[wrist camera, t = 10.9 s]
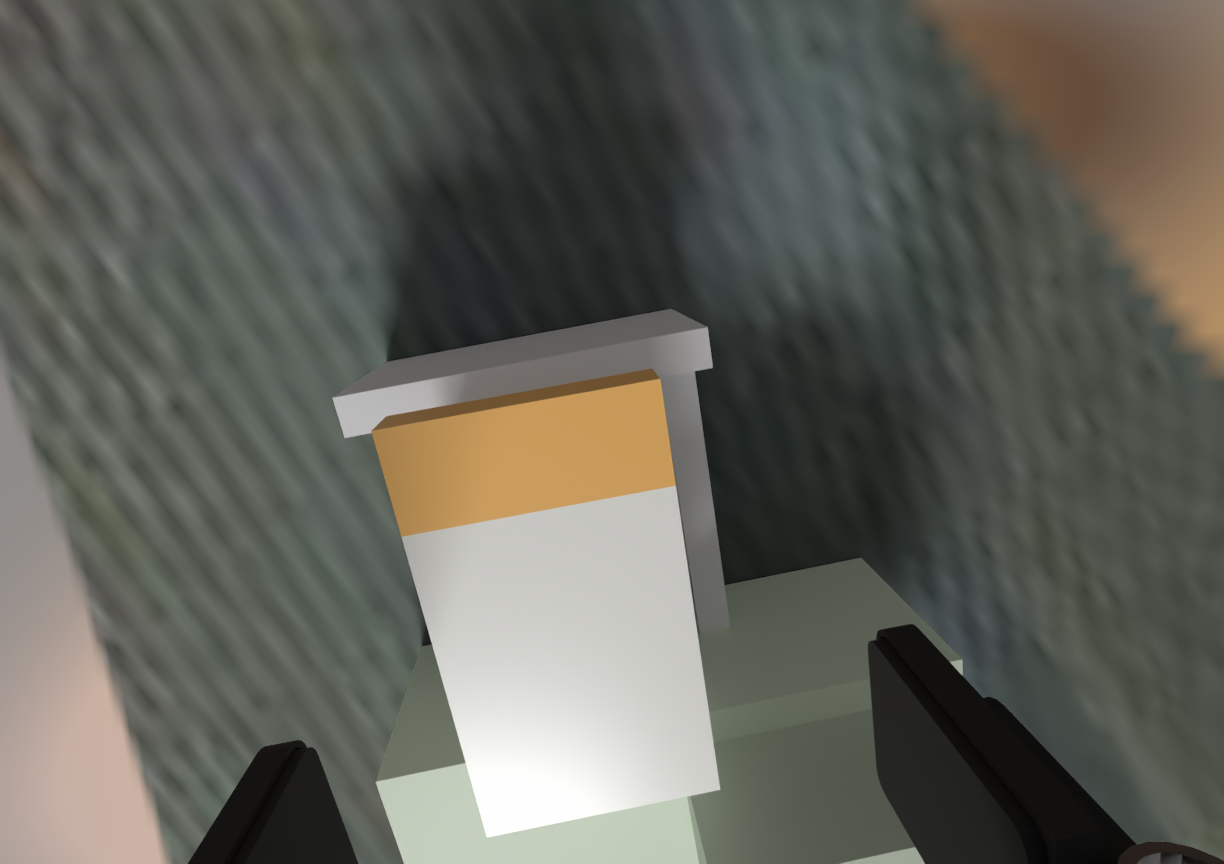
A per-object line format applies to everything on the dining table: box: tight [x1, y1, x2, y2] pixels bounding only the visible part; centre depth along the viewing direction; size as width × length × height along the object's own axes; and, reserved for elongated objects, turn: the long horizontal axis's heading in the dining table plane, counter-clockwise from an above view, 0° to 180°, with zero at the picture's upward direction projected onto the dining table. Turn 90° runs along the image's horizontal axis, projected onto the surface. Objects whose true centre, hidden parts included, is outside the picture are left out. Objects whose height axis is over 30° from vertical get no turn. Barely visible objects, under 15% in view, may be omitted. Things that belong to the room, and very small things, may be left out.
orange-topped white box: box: [372, 369, 720, 837], centre depth 17 cm, size 5×9×9 cm, turn 9°
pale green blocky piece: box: [333, 309, 963, 864], centre depth 18 cm, size 16×17×10 cm
